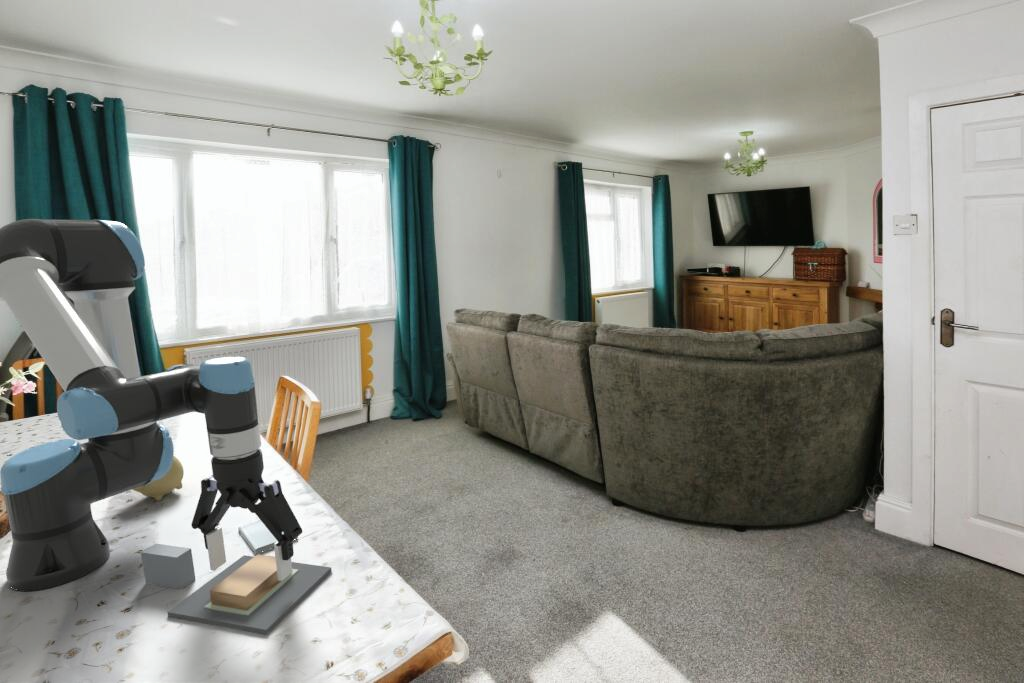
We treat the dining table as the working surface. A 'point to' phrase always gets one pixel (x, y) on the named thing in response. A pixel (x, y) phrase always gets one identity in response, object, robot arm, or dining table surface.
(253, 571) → the card box
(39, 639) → the dining table surface
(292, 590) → the mat
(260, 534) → the hard drive
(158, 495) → the toy pig
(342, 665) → the dining table surface
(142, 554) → the stand
